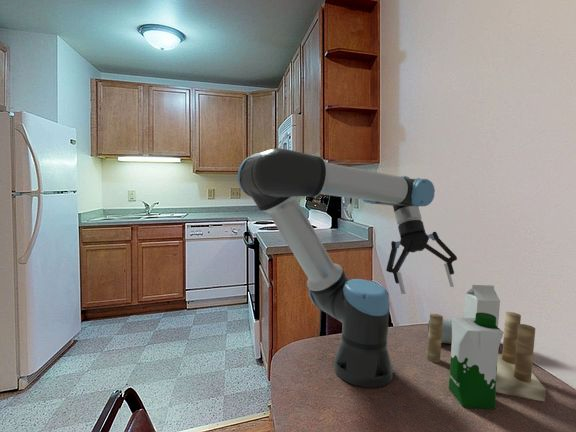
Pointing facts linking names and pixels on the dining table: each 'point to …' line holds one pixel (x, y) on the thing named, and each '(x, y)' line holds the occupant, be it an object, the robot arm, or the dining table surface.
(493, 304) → the milk carton
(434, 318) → the loose leg
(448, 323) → the ceramic mug
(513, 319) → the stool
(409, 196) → the robot arm
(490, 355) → the soya milk
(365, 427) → the dining table surface
